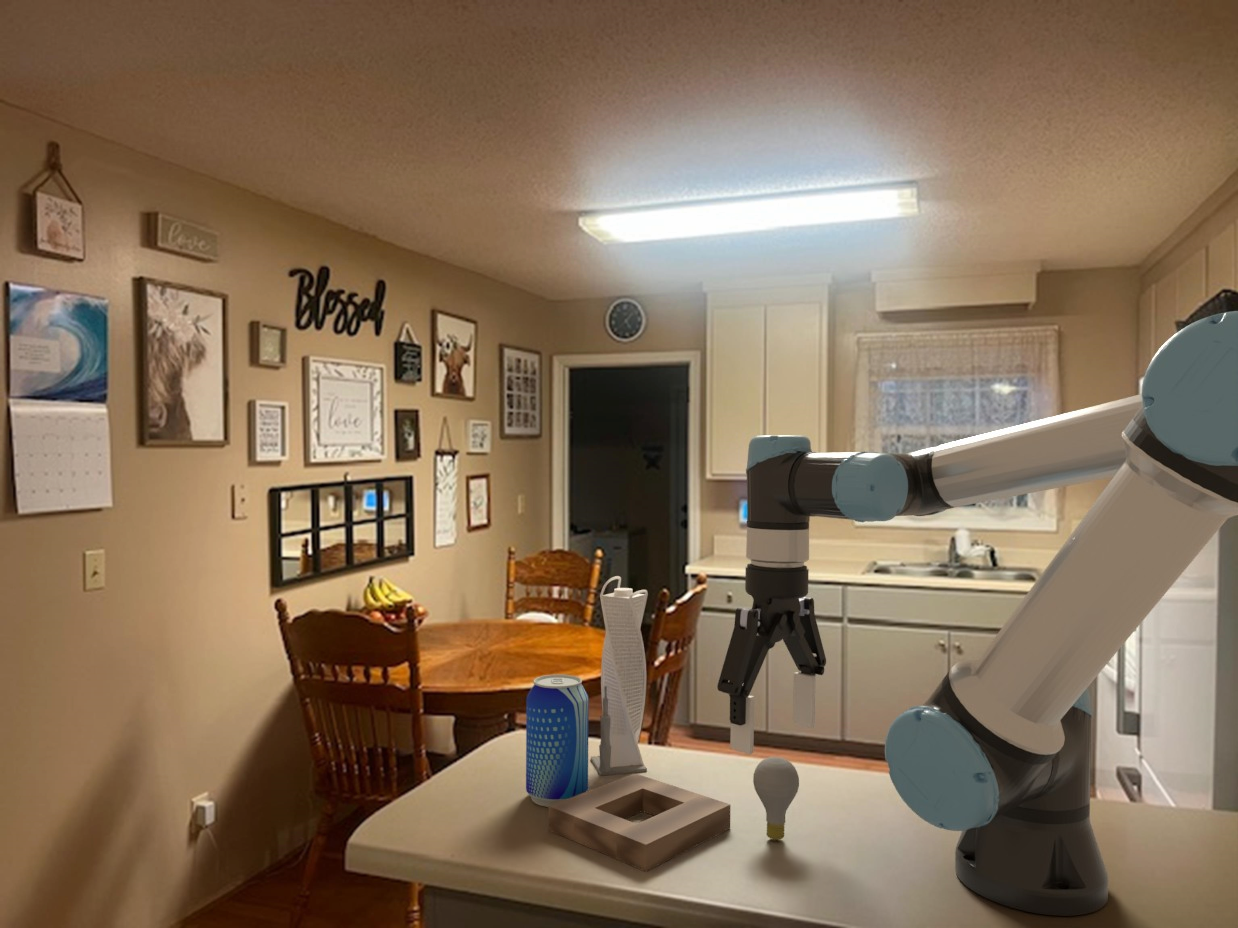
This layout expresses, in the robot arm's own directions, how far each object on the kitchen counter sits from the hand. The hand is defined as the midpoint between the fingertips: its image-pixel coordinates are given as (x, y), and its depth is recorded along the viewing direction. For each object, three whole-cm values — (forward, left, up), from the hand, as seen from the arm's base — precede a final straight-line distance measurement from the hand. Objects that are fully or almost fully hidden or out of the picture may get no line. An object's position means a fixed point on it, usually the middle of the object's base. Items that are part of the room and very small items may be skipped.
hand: (774, 737), depth 107 cm
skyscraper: (+32, -7, -13) cm, 35 cm away
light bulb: (0, 0, -13) cm, 13 cm away
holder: (+14, +9, -12) cm, 20 cm away
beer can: (+29, +9, -13) cm, 33 cm away
